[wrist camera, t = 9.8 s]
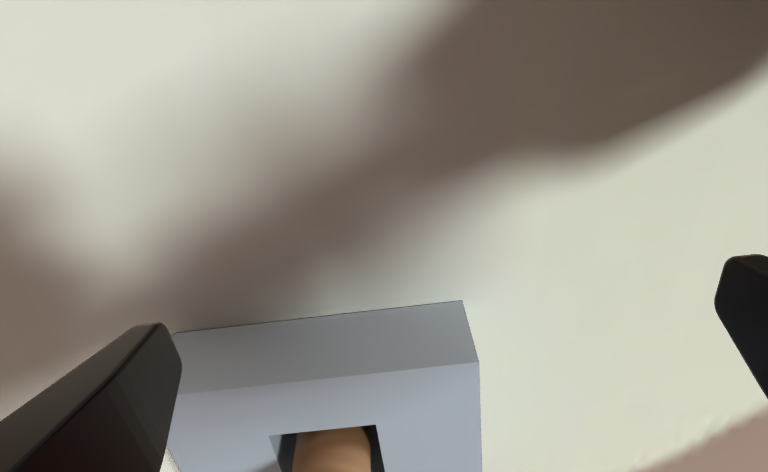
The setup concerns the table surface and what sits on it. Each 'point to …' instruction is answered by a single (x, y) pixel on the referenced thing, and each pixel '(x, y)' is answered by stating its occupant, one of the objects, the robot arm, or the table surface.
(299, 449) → the peg
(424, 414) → the socket block
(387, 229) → the table surface
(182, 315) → the table surface
